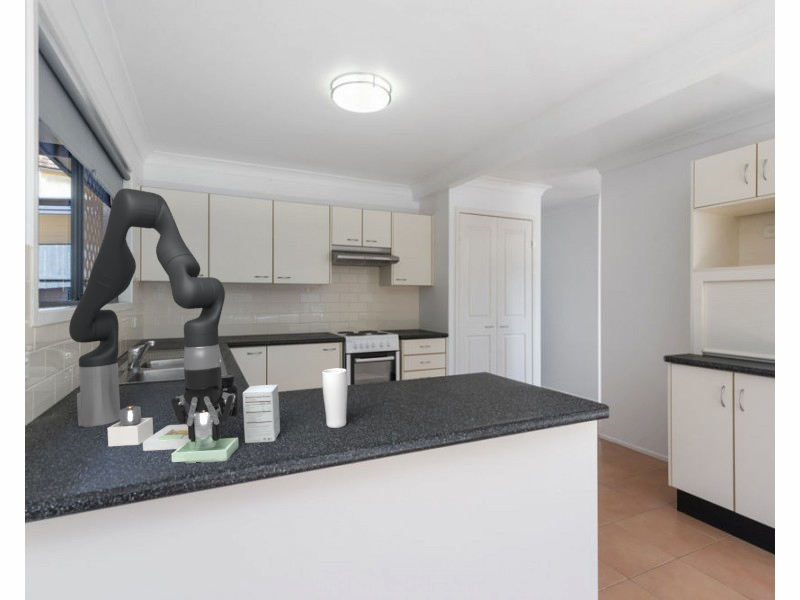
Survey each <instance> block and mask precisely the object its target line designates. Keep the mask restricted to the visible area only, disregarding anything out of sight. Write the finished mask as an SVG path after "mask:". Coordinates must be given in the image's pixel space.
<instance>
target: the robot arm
mask: <svg viewBox="0 0 800 600" xmlns="http://www.w3.org/2000/svg"><path fill="white" fill-rule="evenodd" d="M113 197H114V198H113V200H112V204H111V208H110V211H109V215H108V220H107V223H106V224H107V225H106V229H105V233H104V235H103V239H102V242H101V245H100V248H99V250H98V252H97V256H95V257H96V258H95V260H94V263H93V265H92V268H91V270H90V271H91V272H90V274H89V278H88V280H87V284H86V286H85V289H84V291H83V294H82V296H81V298H80V300H79V302H78V303H77V305H76V307H75V309H74V312H73V314H72V316H71V319H70V321H69V328H68V332H69V335H70V338H71V340H73V341H74V342H76V343H82V344H83V343H85V344H86V343H92V342H93V343H96V342H99V344H98V346H97V347H95V348H94V349H93V350H91V351H89V352H87V353H85V354H82V355H81V356H79V358H78V371H79V373H78V374H79V389H80V390H79V392H77V394H76V405H77V425H78V427H84V428H88V427H96V426H102V425H103V426H104V425H107V424H112V423H114V422H117V421H120V410H121V399H120V383H119V381H120V380H119V363H118V361H119V359H118V357H119V328H120V327H119V319H118V316H117V314H116V312H115V311H114V310H112V309H102V308H103V307H105V306H106V305H107V304H110V302H112V301H113V300H115V299H116V298H118V297H119V296H121V295H122V294H123V293H124V292H125V291H126V290H127V289H128V288H129V287H130V284H131V282H132V280H133V277H134V274H135V272H136V269H137V263H136V259H135V257H134V255H133V253H132V251H131V249H130V246H129V244H128V242H127V236H128V232H129V230H130V228H141V229H154V231H156V232H157V233H158V234H159V238H158V241H157V244H156V247H155V254H156V258H157V260H158V262H159V264H160V266H161V267H162V269H163V271H165V273H166V275H167V276H168V279H169V283H170V287H171V288H170V289H171V294H172V298H173V301H174V302H175V304H176V305H177V306H179V307H181V308H182V309H184V310H185V309H186V310H193V309H194V310H195V309H201V312H200V314H199V316H198V317H196V318H193V319H190V320H187V321H186V322H185V323H184V324H183V343H184V349H183V372H184V376H183V377H184V389H185V391H184V393H183V394H182V395H176V396H175V397H173V398H171V400H170V402H171V406H172V408H173V410H174V413H175V416H176V419H177V421H178V423H179V425H183V424H186V425H187V426H188V438H189V440H191V442H195V432H194V413H196V411H201V410H205V411H209V414H210V416H212V419H213V422H214V425H213V436H214V441H218V440H219V439H221V437H222V436H223V433H224V432H223V431H224V430H223V423H224V422H226V421H228V419H230V418H231V414H232V410H233V406H234V402H235V399H236V394H235V393H232V394H229V393H225V392H224V390H223V389H222V380H221V376H222V358H221V350H220V345H219V343H220V342H219V341H220V340H219V323H220V320H221V316H222V315H221V314H222V311H223V307H224V302H225V297H226V291H225V287H224V284H223V283H222V282H221V280H220V279H218V278H216V277H213V276H212V277H211V276H210V277H209V276H208V277H206V276H205V277H204V276H201V277H199V275H200V273H201V266H200V263H199V261H198V260H197V259H196V257H195V256H194V255H193V253H192V251H191V250H190V249H189V247H188V246H187V245H186V243H185V241H184V239H183V237H182V235H181V232H180V230H179V227H178V226H177V223H176V221H175V218H174V216H173V213H172V211H171V208H170V207H169V205H168V203H167V202H166V200H165V198H164V197H163V196H162V195H160V194H158V193H155V192H150V191H144V190H139V189H133V188H127V187H126V188H121V189H119V190H118V191H117V193H115V196H113ZM221 398H223V399H224V403H226V405H225V408H224V412H223V415H222V414H221V408H220V406H219V401H220V400H221ZM185 403H187V404H188V405H189V406H190V407H189V411H187V409H186V406H185Z"/></svg>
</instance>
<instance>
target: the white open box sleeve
mask: <svg viewBox="0 0 800 600" xmlns="http://www.w3.org/2000/svg"><path fill="white" fill-rule="evenodd" d="M153 418H154V417H141V423H140V424H138V425H137V426H121V427H120V421H118V422H117V423H114V424H112V425H110V426H109V427H107V441H108V442H107V444H108V445H107V446H108V447H119V446H120V447H121V446H123V447H124V446H125V447H126V446H137V445H138V446H139V445H141V444H143V441H145V440H146V439H148V438H149V437H151V436H152V435H154V422H153Z"/></svg>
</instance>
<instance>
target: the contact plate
mask: <svg viewBox="0 0 800 600" xmlns="http://www.w3.org/2000/svg"><path fill="white" fill-rule="evenodd" d="M177 434H184V436H187V435H188V430H185V431H174V432H173V433H171V434H170V435H177Z"/></svg>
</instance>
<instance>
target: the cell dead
mask: <svg viewBox="0 0 800 600" xmlns="http://www.w3.org/2000/svg"><path fill="white" fill-rule="evenodd" d="M141 409H142V408H141V406H139V405H137V406H135V405H128V406H126V407H123V408H120V419H119V422H120V427H121V426H137V425H138V424H140V423H141V418H142V413H141Z"/></svg>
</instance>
